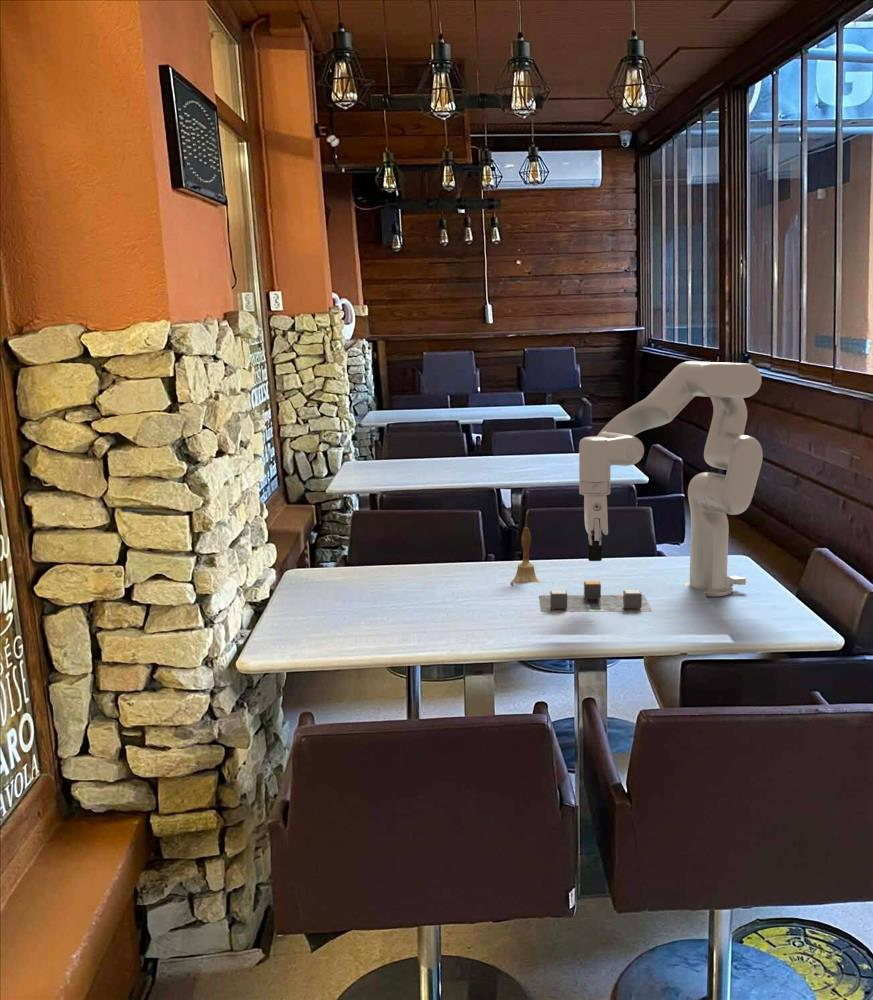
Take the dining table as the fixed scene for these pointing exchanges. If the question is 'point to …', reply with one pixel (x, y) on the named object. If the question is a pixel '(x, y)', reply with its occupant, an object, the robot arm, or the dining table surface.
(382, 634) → the dining table surface
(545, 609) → the panel
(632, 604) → the block
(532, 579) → the hand bell
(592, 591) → the block
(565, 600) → the breaker
